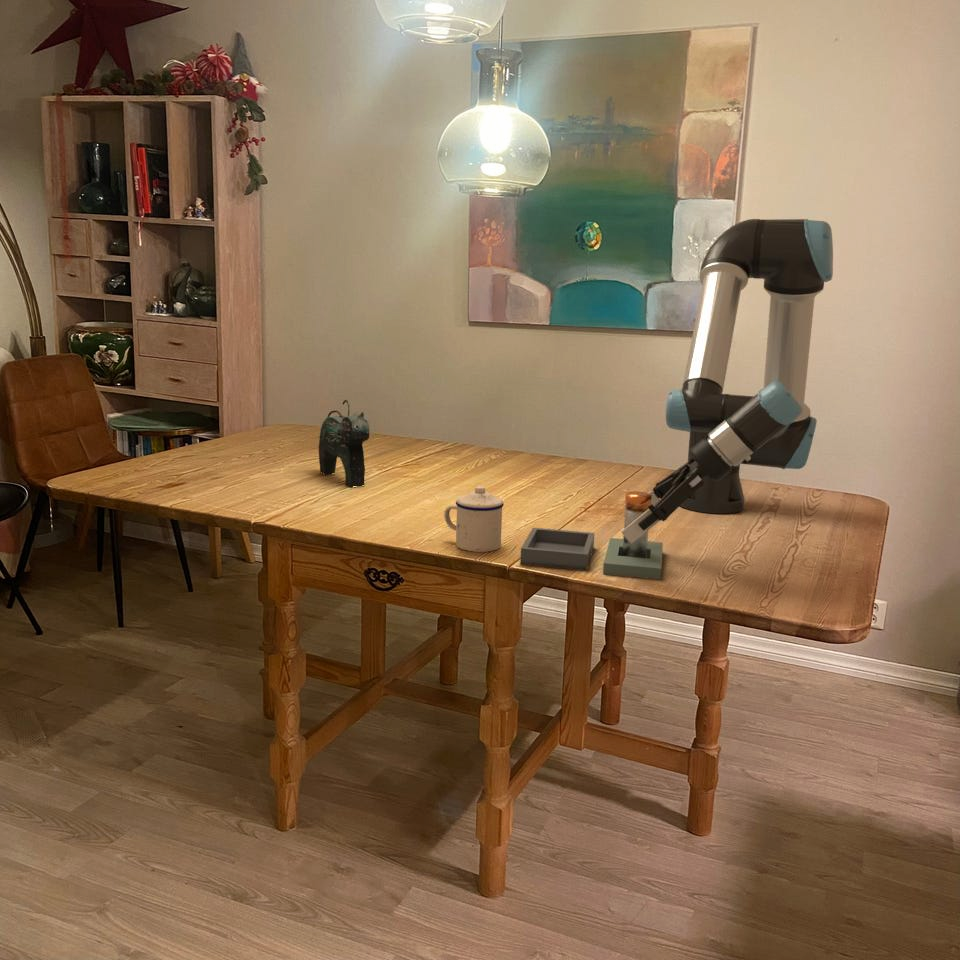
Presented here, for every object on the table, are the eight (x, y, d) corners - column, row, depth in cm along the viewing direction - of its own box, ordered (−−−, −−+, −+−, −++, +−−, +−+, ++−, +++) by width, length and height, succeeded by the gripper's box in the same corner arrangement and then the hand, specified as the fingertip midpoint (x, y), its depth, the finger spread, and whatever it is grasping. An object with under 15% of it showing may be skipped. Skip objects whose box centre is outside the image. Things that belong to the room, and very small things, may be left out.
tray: (532, 542, 182) (532, 527, 181) (593, 547, 180) (594, 532, 179) (520, 564, 169) (520, 548, 168) (586, 570, 166) (587, 554, 166)
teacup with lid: (509, 543, 181) (512, 485, 178) (488, 556, 173) (490, 495, 170) (455, 534, 186) (457, 477, 183) (432, 545, 178) (434, 486, 175)
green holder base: (609, 547, 180) (610, 537, 179) (662, 552, 178) (663, 542, 178) (602, 573, 165) (603, 563, 164) (660, 579, 163) (661, 568, 162)
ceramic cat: (372, 487, 221) (372, 404, 217) (347, 490, 218) (347, 405, 213) (334, 470, 237) (334, 392, 233) (311, 473, 234) (310, 394, 229)
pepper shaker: (621, 558, 174) (626, 490, 171) (646, 560, 173) (651, 492, 170) (620, 565, 170) (625, 496, 167) (645, 567, 169) (651, 498, 166)
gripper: (739, 483, 152) (639, 563, 158) (730, 454, 175) (643, 524, 182) (708, 449, 151) (609, 530, 158) (703, 425, 175) (618, 496, 181)
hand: (627, 527), depth 170 cm, fingers open, 13 cm apart
